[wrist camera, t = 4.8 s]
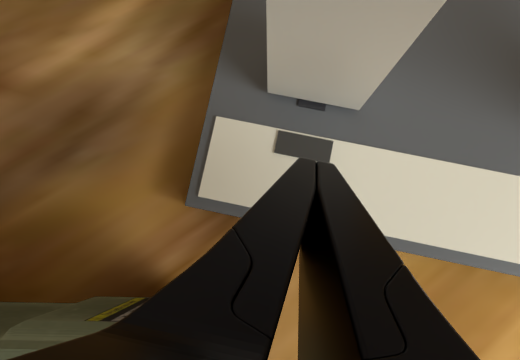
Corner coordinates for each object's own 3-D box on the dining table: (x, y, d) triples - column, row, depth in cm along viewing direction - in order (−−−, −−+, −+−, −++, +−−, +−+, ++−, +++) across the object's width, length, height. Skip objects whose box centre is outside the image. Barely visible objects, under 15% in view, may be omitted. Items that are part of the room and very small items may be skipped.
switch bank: (674, 309, 16) (725, 319, 14) (192, 207, 17) (183, 205, 15) (695, 26, 17) (743, 4, 16) (251, -50, 18) (249, -79, 17)
